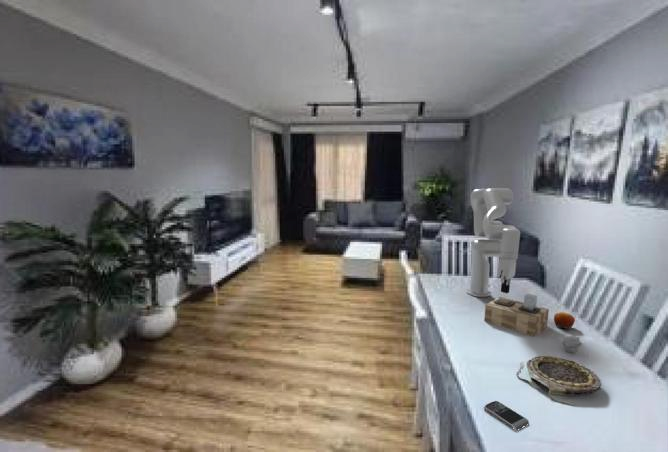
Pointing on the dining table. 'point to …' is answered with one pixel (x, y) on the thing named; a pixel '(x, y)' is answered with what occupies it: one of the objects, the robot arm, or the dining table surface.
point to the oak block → (516, 316)
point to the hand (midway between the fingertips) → (504, 292)
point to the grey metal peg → (530, 302)
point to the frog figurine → (571, 343)
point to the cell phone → (506, 415)
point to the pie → (561, 376)
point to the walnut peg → (504, 301)
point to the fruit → (564, 320)
